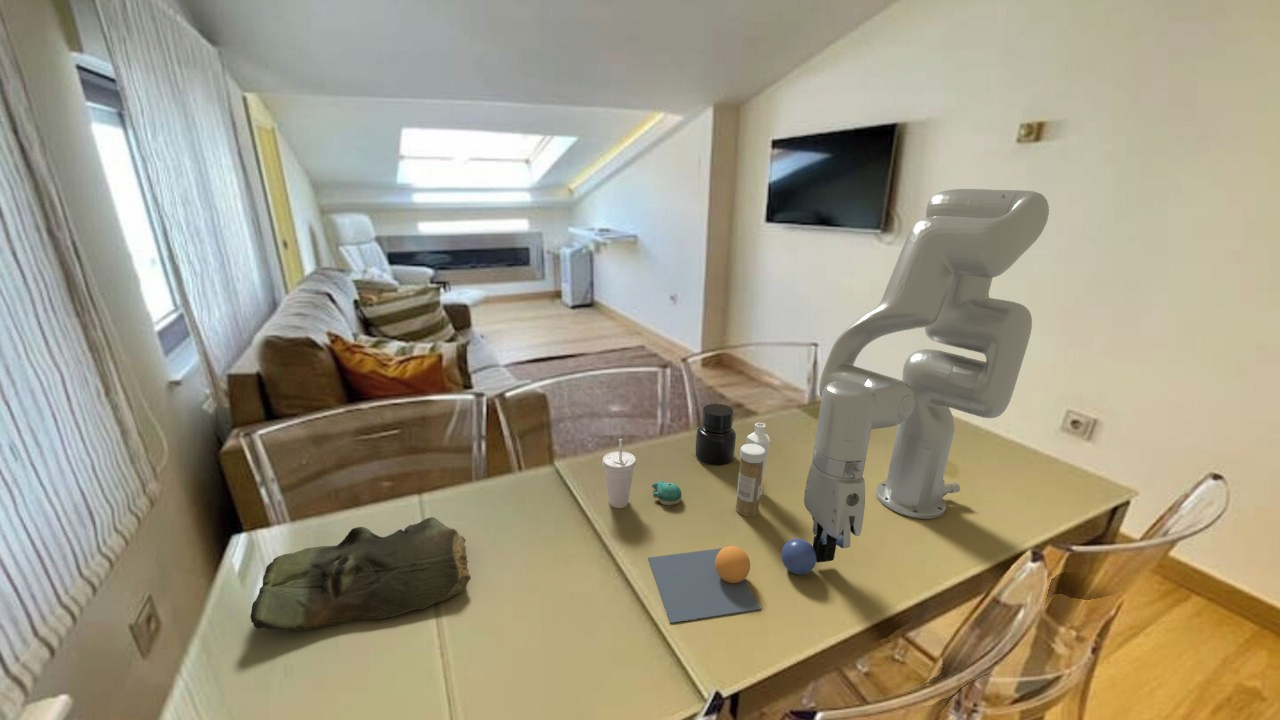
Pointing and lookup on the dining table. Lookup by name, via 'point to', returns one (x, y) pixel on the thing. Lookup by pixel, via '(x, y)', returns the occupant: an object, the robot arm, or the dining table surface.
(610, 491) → the smoothie
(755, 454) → the sprinkles bottle
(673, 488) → the whale figurine
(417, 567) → the stone head
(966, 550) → the dining table surface
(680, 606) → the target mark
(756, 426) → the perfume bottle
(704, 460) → the ink bottle
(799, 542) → the blue ball
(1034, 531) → the dining table surface
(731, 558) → the orange ball
